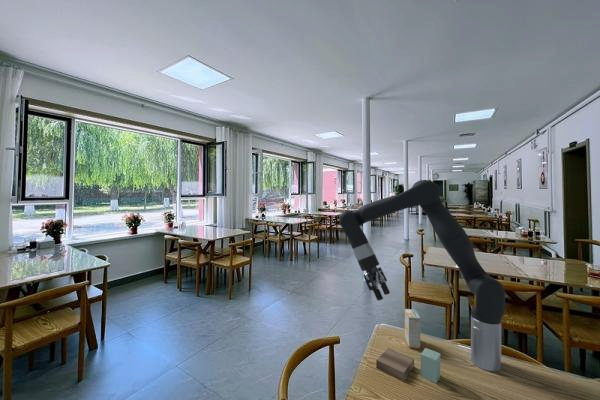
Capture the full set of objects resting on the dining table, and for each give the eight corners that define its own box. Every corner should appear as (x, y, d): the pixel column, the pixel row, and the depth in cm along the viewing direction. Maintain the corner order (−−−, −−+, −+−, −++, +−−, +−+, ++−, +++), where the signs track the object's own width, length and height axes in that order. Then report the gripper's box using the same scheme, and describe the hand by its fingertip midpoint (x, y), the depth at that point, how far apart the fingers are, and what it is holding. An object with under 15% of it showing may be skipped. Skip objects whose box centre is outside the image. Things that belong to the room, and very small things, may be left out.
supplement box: (421, 349, 105) (420, 318, 105) (408, 348, 106) (408, 317, 106) (416, 338, 113) (416, 309, 113) (404, 337, 114) (404, 308, 114)
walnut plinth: (388, 355, 102) (388, 347, 102) (414, 366, 95) (414, 358, 95) (376, 367, 94) (376, 359, 94) (403, 381, 88) (403, 372, 87)
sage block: (425, 369, 93) (425, 347, 93) (440, 375, 90) (440, 353, 90) (420, 376, 90) (420, 354, 90) (436, 383, 86) (436, 360, 86)
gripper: (367, 255, 95) (387, 299, 90) (379, 251, 107) (398, 289, 102) (350, 262, 99) (369, 304, 94) (364, 257, 111) (381, 294, 106)
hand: (384, 296), depth 98 cm, fingers open, 8 cm apart
